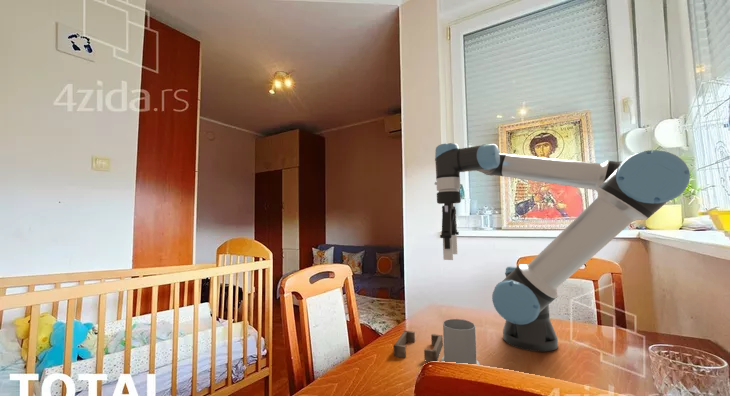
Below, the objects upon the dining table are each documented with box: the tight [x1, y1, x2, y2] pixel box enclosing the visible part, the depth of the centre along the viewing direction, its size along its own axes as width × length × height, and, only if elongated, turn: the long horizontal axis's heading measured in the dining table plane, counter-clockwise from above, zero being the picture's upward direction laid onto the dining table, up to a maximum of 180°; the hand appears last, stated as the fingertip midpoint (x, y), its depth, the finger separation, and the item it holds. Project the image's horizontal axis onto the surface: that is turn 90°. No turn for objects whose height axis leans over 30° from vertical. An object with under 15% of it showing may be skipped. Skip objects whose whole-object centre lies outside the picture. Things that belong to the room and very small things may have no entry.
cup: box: [442, 318, 478, 364], centre depth 81 cm, size 8×8×10 cm
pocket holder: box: [393, 330, 444, 363], centre depth 89 cm, size 12×12×3 cm
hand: (450, 256), depth 96 cm, fingers open, 13 cm apart
